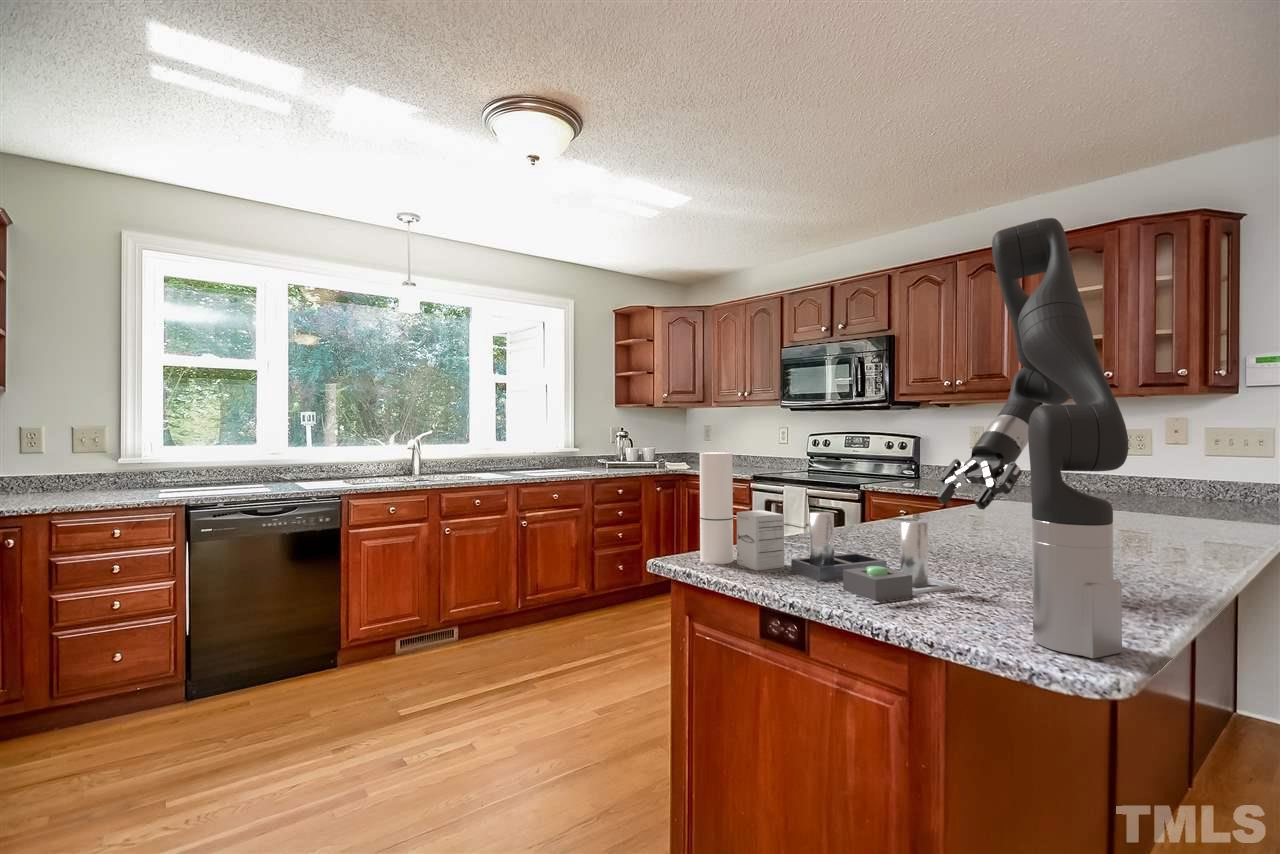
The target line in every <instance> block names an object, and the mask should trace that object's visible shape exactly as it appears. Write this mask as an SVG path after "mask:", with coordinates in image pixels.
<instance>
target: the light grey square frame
mask: <svg viewBox="0 0 1280 854" xmlns="http://www.w3.org/2000/svg"><path fill="white" fill-rule="evenodd" d="M929 582H930V583H933V584H936V585H935V586H927V587H923V588H914V587H912V590H913V595H915V594H922V593H923V594H925V593H930V592H937V591H946V590H953V589H954V590H955V589H958V584H954V583H952V582H947V581H944V580H940V579H937V578H933V577H929V576H928V583H929Z"/></svg>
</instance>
